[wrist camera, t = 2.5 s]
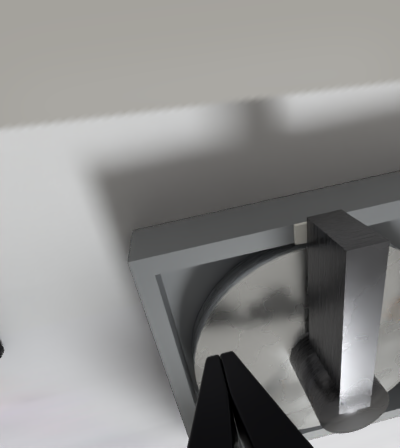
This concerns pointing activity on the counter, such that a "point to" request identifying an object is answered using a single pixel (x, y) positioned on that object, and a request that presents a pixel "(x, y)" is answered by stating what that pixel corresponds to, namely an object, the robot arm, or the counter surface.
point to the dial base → (233, 255)
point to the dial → (313, 323)
